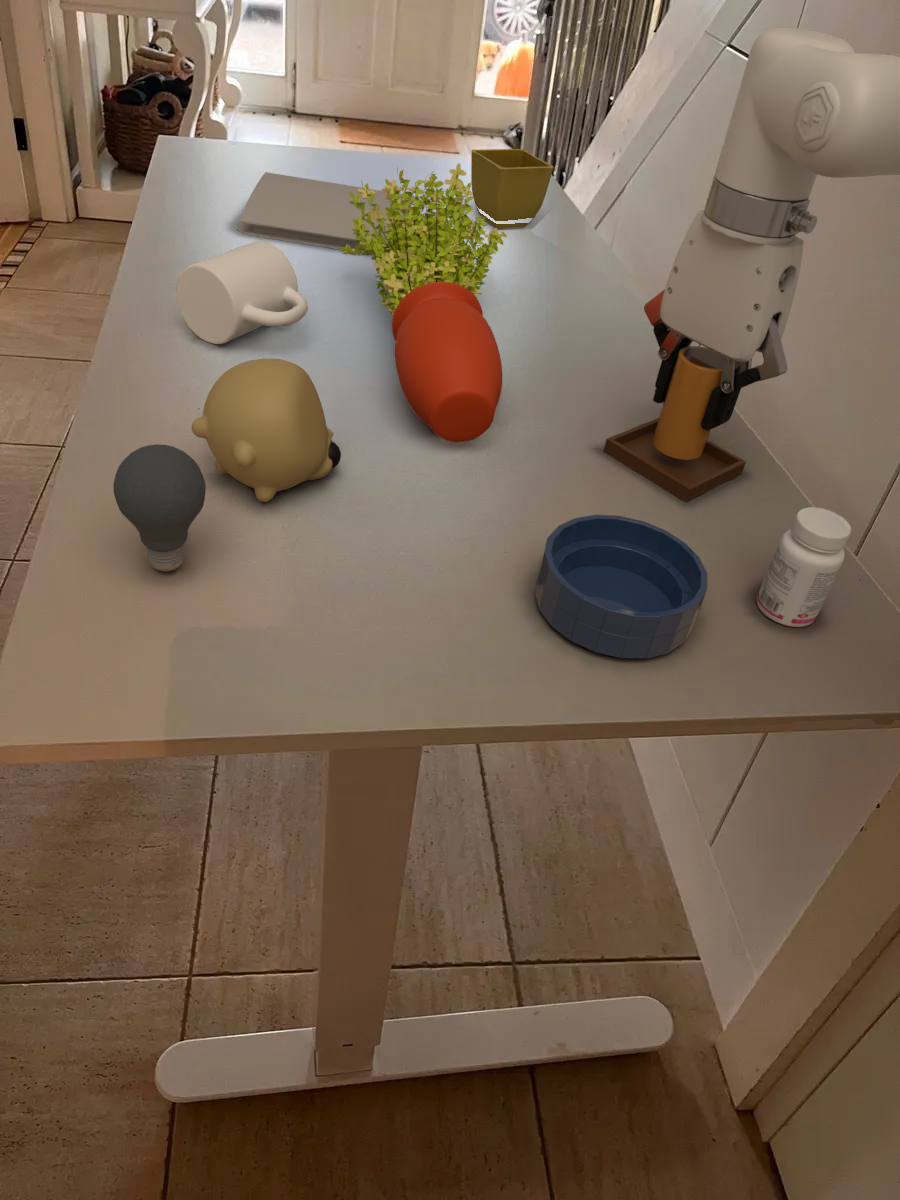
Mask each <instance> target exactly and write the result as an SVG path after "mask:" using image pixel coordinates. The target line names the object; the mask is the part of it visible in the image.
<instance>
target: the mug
mask: <svg viewBox="0 0 900 1200" xmlns="http://www.w3.org/2000/svg"><path fill="white" fill-rule="evenodd" d="M183 268H184V269H182V270H181V272H180V273H179V275H178V277H177V281H176V287H175V294H176V295H175V296H176V301H177V305H178V309H179V312H180V314H181V317H182V318H183V320H184V321H185V323H186V324H187V326H188V328H189V329H190V330H191V331H192V332H193V333H194V334H195V335H196V336H197V337H199V339H202V340H203V341H205V342H207V343H209V344H214V345H222V344H226V343H229V342H230V341H232V340H234V339H236V338H239V337H241V336H243V335H245V334H247V333H249V332H251V331H254V330H256V329H258V328H260V327H262V326H265V327H267V326H268V327H286V326H291V325H293V324H296V323H298V322H299V321H301V320H303V318H304V317H305V316H306V315H307V312H308V309H309V308H308V307H309V306H308V301H307V299H306V298H305V297H304V296H303V295H302V293H300V292H299V288H298V287H299V286H298V278H297V275H296V272H295V270H294V267H293V265H292V263H291V261H290V260H289V258H288V257H287V256H286V254H285V253H284V252H283V251H282V250H281V249H280V248H279V247H277V246H276V245H274V244H272V243H270V242H267V241H263V240H256V241H252V242H249V243H246V244H244V245H241V246H239V247H236V248H233V249H230V250H228V251H224V252H222V253H219V254H216V255H214V256H211V257H208V258H206V259H205V258H204V259H202V260H200V261H197V262H194V263H192V264H191V263H190V264H189V265H187V266H185V267H183Z"/></svg>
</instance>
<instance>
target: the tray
mask: <svg viewBox="0 0 900 1200" xmlns="http://www.w3.org/2000/svg"><path fill="white" fill-rule="evenodd" d="M658 420H659V417H657V418H654V419H652V420H648V421H647V422H644V423H642V424H640V425H637V426H633V427H632V428H629V429H627V430H624V431H622V432H620V433H617V434H615V435H612V436H610V437H607V438H606V439H605V443H604V447H603V452H604V453H605V454H607V455H609V456H610V457H612V458H613V459H615V460H617V461H618V462H620V463H622V464H623V465H625V466H626V467H628V468H630V469H632V470H633V471H635V472H636V473H637V474H640V475H641V476H643V477H645V478H646V479H648V480H650V481H651V482H653V483H654V484H656V485H657V486H659V487H661V488H662V489H664V490H666V491H667V492H668V493H670V494H671V495H674V496H675V497H676V498H678V499H681V500H682V501H684V502H686V503H687V502H689V501H691V500H693V499H695V498H698V497H699V496H702V495H703V494H705V493H707V492H709V491H712V490H713V489H715V488H717V487H719V486H721V485H722V484H725V483H727V482H729V481H731V480H733V479H735V478H737V477H739V476H741V475H742V474H743V472H744V470H745V467H746V464H747V461H746V460H744V459H742V458H741V457H739V456H737V455H736V454H734V453H732V452H730V451H729V450H727V449H725V448H723V447H721V446H719V445H717V444H716V443H715V442H713V441H711V440H709V439H707V442H706V445H705V448H704V451H703V453H702V455H701V456H700V457H698V458H696V459H692V460H682V459H677V458H673V457H670V456H667V455H665V454H663V453H661V452H660V451H659V450H657V449H656V448H655V446H654V445H653V437H654V433H655V430H656V427H657V424H658Z"/></svg>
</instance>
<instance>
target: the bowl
mask: <svg viewBox="0 0 900 1200" xmlns="http://www.w3.org/2000/svg"><path fill="white" fill-rule="evenodd" d="M536 581H537V582H536V586H535V589H534V595H535V599H536V602H537V607H538V610H539V612H540V613H541V614H542V616H543V617H544V618H545V620H546V621H547V622H548V624H549V625H550V626H551V627H552V628H553V629H555V631H557V632H558V633H559V634H561V635H562V636H563V637H565V638H566V639H568V640H569V641H571V642H572V643H574V644H577V645H579V646H581V647H583V648H586V649H588V650H590V651H592V652H594V653H597V654H601V655H606V656H611V657H614V658H619V659H649V658H654V657H658V656H663V655H667V654H668V653H670V652H672V651H674V650H676V649H677V648H678V647H680V646H681V645H683V644H684V643H685V642H686V640H687V639H688V637H689V635H690V634H691V632H692V630H693V628H694V625H695V623H696V620H697V617H698V614H699V612H700V610H701V607H702V605H703V602H704V599H705V597H706V594H707V591H708V589H709V588H708V587H709V585H708V572H707V569H706V568H705V565H704V564H703V562H702V560H701V558H700V556H699V555H698V554H697V553H696V552H695V551H694V550H693V549H692V547H690V546H689V545H688V544H687V543H686V542H685V541H683V540H682V539H680V538H678V537H677V536H675V535H674V534H672V533H671V532H669V531H667V530H665V529H664V528H661V527H659V526H656V525H654V524H651V523H650V522H647V521H643V520H640V519H635V518H632V517H631V518H630V517H627V516H622V515H613V514H591V515H585V516H580V517H574V518H572V519H570V520H567V521H566V522H563V523H562V524H559V525H558V526H556V528H555V529H554V530H553V531H552V532H551V533H550V534H549V535H548V536H547V539H546V543H545V547H544V550H543V555H542V559H541V563H540V568H539V573H538V577H537V580H536Z"/></svg>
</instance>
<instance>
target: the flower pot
mask: <svg viewBox="0 0 900 1200" xmlns="http://www.w3.org/2000/svg"><path fill="white" fill-rule="evenodd" d="M470 157H471V159H470V160H471V165H470V168H471V170H470V172H471V173H470V174H471V175H470V176H471V177H470V179H471V181H470V182H471V192H472V193H473V195H472V197H474V198H473V201H474V205H475V207H476V206H477V207H478V208H479V209H481V210H482V211H484V212H485V213H486V214H488V215H489V216H490V217H491V218H493V219H494V220H495V221H508V220H518V219H526V218H533V219H534V218H535V217H536V216H537V214H538V213H539V211H540V210H541V208H542V206H543V203H544V200H545V198H546V194H547V191H548V188H549V184H550V181H551V178H552V174H553V171H554V166H553V165H552V164H550V163H548V162H546V161H545V160H543V159H542V158H539V157H537V156H535V155H534V154H532V153H531V152H529V151H527V150H525V149H523V148H491V149H487V148H485V149H471V156H470ZM478 216H479V217H480V216H483V217H486V216H484V215H483V214H481V213H480V212H478ZM483 217H480V219H481V218H483ZM483 219H484V221H485V222H487V223H488V224H490V225H491V226H493V227H494V228H497V230H498V229H499V230H501V229H513V228H526V227H527V226H528V225H529V224H530V223H515V224H496V223H494V222H493V221H491V220H490V219H488V218H487V217H486V218H483Z"/></svg>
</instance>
